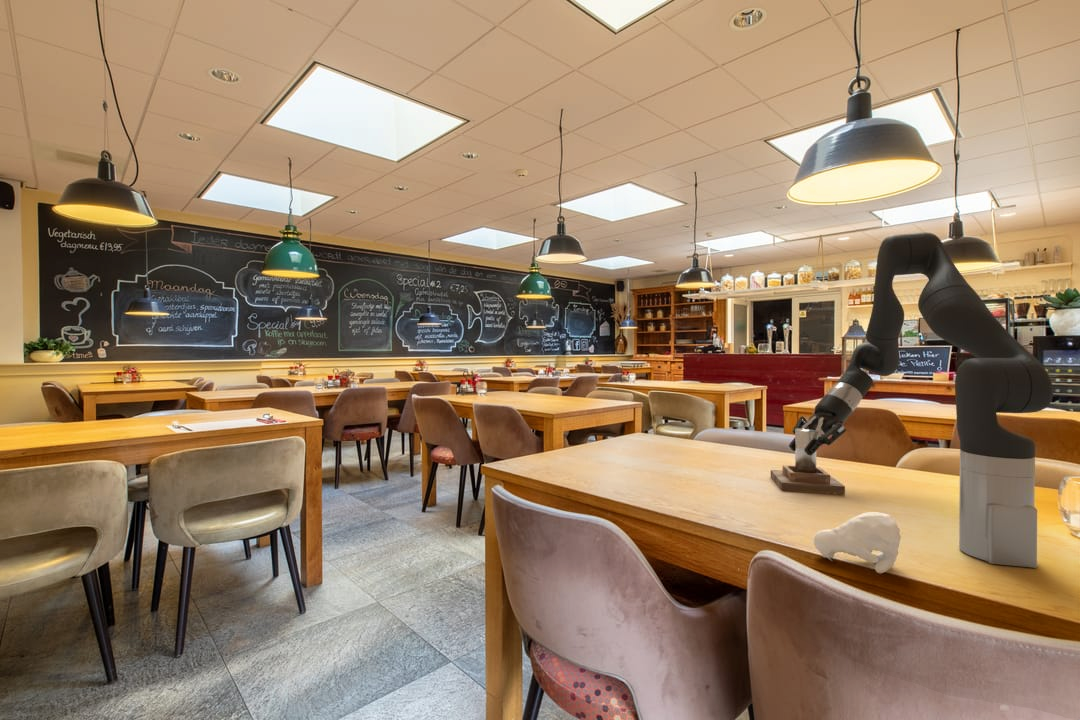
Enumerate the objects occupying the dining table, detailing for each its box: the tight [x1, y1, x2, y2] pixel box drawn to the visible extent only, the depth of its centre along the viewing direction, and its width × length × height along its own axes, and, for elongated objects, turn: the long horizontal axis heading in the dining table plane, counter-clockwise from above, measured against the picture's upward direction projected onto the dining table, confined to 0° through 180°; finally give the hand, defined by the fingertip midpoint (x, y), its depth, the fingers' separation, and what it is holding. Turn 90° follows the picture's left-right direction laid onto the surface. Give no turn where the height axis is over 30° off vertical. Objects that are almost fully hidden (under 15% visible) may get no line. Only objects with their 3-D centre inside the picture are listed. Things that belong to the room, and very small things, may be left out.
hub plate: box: [770, 464, 846, 495], centre depth 126 cm, size 14×14×4 cm
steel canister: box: [794, 428, 817, 471], centre depth 126 cm, size 5×5×10 cm
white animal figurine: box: [813, 511, 902, 574], centre depth 79 cm, size 6×8×12 cm
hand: (799, 450), depth 126 cm, fingers closed on steel canister, 4 cm apart
